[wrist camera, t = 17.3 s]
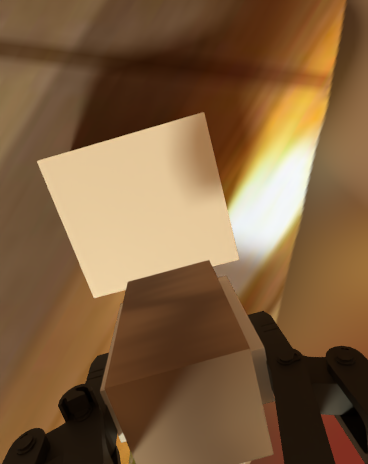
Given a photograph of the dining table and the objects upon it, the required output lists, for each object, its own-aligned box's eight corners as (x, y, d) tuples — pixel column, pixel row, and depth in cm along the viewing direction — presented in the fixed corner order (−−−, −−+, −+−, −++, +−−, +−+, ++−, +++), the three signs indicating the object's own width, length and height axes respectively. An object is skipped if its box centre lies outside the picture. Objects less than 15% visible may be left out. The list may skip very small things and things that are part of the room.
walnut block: (151, 350, 19) (146, 490, 11) (127, 281, 17) (104, 388, 10) (226, 329, 19) (273, 454, 11) (209, 259, 17) (250, 348, 10)
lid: (96, 294, 28) (94, 298, 27) (41, 160, 24) (36, 161, 24) (237, 256, 28) (239, 259, 27) (203, 112, 24) (204, 111, 23)
